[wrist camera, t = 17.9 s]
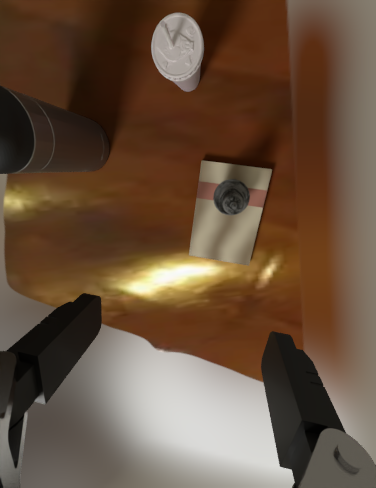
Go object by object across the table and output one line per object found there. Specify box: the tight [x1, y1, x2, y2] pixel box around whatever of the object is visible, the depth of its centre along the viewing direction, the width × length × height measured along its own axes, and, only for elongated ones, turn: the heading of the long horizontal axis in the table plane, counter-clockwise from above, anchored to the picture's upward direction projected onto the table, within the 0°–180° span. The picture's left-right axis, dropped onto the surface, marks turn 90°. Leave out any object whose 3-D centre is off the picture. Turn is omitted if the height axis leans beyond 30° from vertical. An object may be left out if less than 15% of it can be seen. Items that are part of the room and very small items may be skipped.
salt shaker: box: [213, 179, 250, 216], centre depth 33 cm, size 6×6×12 cm
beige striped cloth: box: [189, 160, 272, 265], centre depth 40 cm, size 12×18×1 cm, turn 173°
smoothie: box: [151, 13, 204, 92], centre depth 28 cm, size 6×6×14 cm
